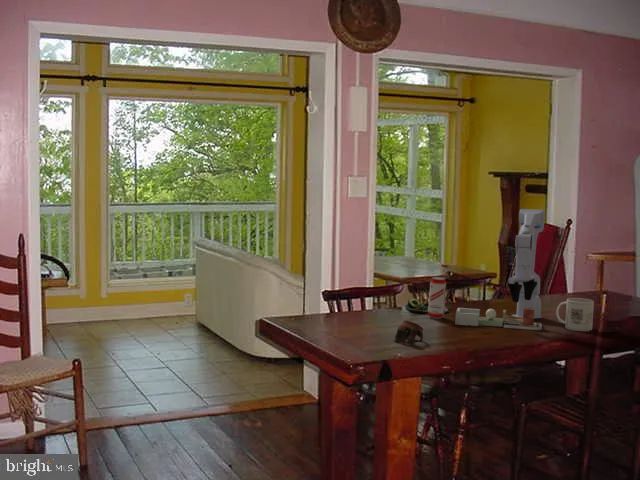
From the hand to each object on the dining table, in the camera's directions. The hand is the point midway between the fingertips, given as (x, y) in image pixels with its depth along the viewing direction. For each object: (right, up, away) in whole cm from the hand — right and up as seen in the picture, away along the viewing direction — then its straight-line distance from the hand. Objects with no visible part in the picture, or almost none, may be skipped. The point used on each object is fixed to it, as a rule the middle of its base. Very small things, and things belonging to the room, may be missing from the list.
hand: (521, 300), depth 293 cm
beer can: (-31, -8, +14) cm, 35 cm away
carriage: (-1, -10, +1) cm, 10 cm away
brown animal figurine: (-46, -12, -29) cm, 56 cm away
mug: (+21, -11, +1) cm, 24 cm away
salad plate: (-33, -7, +29) cm, 45 cm away
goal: (-19, -9, +6) cm, 22 cm away
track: (-4, -10, +2) cm, 11 cm away
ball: (-11, -5, +3) cm, 13 cm away
